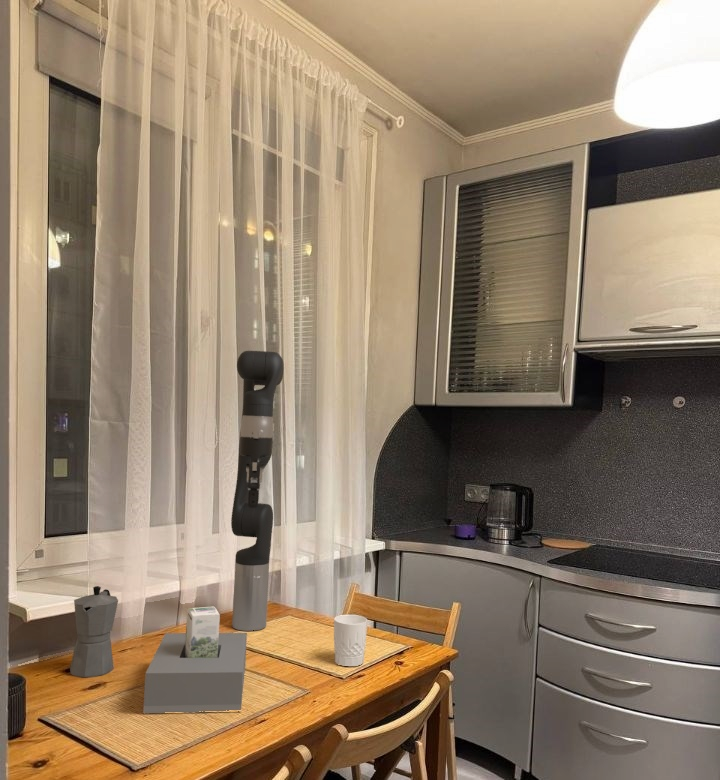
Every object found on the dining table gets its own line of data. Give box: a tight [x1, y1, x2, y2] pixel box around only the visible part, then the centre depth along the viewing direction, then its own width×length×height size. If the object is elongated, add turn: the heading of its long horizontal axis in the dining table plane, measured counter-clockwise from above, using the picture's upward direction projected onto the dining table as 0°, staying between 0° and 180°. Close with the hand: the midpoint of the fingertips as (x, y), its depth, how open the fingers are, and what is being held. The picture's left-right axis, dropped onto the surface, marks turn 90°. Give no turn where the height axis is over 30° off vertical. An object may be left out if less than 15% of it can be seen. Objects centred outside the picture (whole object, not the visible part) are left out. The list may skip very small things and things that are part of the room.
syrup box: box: [184, 606, 221, 658], centre depth 136 cm, size 6×6×14 cm
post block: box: [142, 632, 248, 714], centre depth 135 cm, size 24×18×8 cm
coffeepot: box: [69, 585, 119, 678], centre depth 144 cm, size 15×9×18 cm, turn 5°
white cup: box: [333, 614, 368, 667], centre depth 154 cm, size 8×8×10 cm
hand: (253, 505), depth 152 cm, fingers open, 8 cm apart
